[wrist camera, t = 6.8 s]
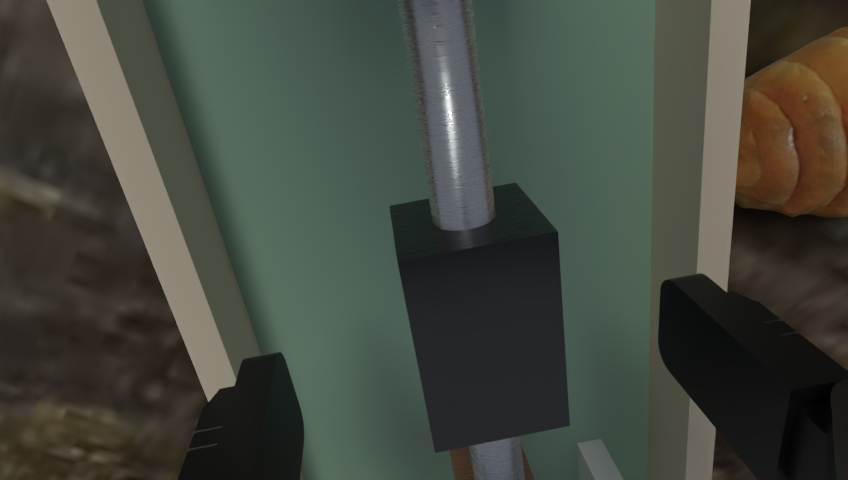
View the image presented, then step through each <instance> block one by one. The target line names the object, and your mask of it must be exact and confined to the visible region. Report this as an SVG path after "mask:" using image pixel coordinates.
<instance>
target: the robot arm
mask: <svg viewBox="0 0 848 480" xmlns="http://www.w3.org/2000/svg"><path fill="white" fill-rule="evenodd" d="M658 346H659V351H660V355H661V358H662V360H663V363H664V365H665V366H666V368H667V369H668V371H669V372H670V373H671V375H672V376H673V377H674V378H675V379H676V381H677V382H678V383H679V384H680V385H681V387H682V388H683V389H684V390H685V391H686V393H687V394H688V395H689V396H690V398H691V399H692V400H693V401H694V402H695V404H696V405H697V406H698V407H699V408H700V410H701V411H702V412H703V413H704V415H705V416H706V417H707V418H708V419H709V421H710V422H711V423H712V424H713V425H714V427H715V428H716V429H717V430H718V432H719V433H720V434H721V435H722V436H723V438H724V439H725V440H726V441H727V442H728V444H729V445H730V446H731V447H732V449H733V450H734V451H735V452H736V453H737V455H738V456H739V457H740V458H741V459H742V461H743V462H744V463H745V464H746V466H747V467H748V468H749V469H750V470H751V472H752V473H753V474H754V475H755V476H756V478H757V479H758V480H848V371H847V370H845V369H844V368H843V367H842V366H840V365H839V364H838V363H836V362H835V361H834V360H833V359H831V358H830V357H829V356H827V355H826V354H825V353H824V352H822V351H821V350H820V349H818V348H817V347H816V346H814V345H813V344H812V343H811V342H809V341H808V340H807V339H805V338H804V337H803V336H802V335H800V334H796V333H795V330H794V329H793V328H791V327H790V326H789V325H787V324H786V323H785V322H784V321H779V318H778V317H777V316H776V315H774V314H773V313H772V312H771V311H769V310H768V309H767V308H765V307H764V306H763V305H762V304H760V303H759V302H757V301H754V300H752V299H749V298H747V297H745V296H742V295H740V294H738V293H735V292H728V293H727V292H726V291H725V290H723V289H722V288H721V287H720V286H719V285H717V284H716V283H715V282H714V281H712V280H711V279H710V278H709V277H707V276H706V275H704V274H702V273H699V274H694V275H688V276H683V277H678V278H672V279H667V280H665V281H663V283H662V285H661V288H660V306H659V328H658ZM303 446H304V423H303V417H302V412H301V408H300V405H299V402H298V398H297V395H296V392H295V389H294V386H293V382H292V379H291V376H290V373H289V370H288V367H287V363H286V360H285V358H284V356H283V354H282V353H281V352H277V353H272V354H267V355H261V356H256V357H251V358H245V359H243V361H242V363H241V366H240V369H239V372H238V376H237V379H236V382H235V386H232V387H226V388H221V389H219V390H218V392H217V393H216V394H215V395H214V396H213V398H212V399H211V400H210V401H209V402H208V403H207V405H206V406H205V407H204V408H203V410H202V413H201V416H200V419H199V421H198V424H197V427H196V434H194V435H193V438H192V441H191V444H190V447H189V448H190V451H189V452H187V455H186V458H185V461H184V463H183V466H182V469H181V472H180V475H179V477H178V480H300V474H301V465H302V455H303Z"/></svg>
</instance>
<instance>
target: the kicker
mask: <svg viewBox="0 0 848 480" xmlns="http://www.w3.org/2000/svg"><path fill="white" fill-rule="evenodd" d="M397 4H398V10H399V17H400V23H401V29H402V35H403V41H404V48H405V54H406V60H407V66H408V72H409V78H410V85H411V91H412V97H413V103H414V109H415V115H416V122H417V128H418V134H419V140H420V146H421V153H422V159H423V165H424V171H425V177H426V183H427V190H428V196H429V199H423V200H418V201H413V202H407V203H402V204H396V205H391V206H389V208H390V215H391V222H392V228H393V235H394V242H395V249H396V256H397V262H398V267H399V272H400V278H401V283H402V288H403V293H404V298H405V303H406V308H407V313H408V318H409V323H410V328H411V333H412V338H413V344H414V349H415V354H416V359H417V364H418V369H419V374H420V379H421V384H422V389H423V394H424V399H425V404H426V410H427V415H428V420H429V425H430V430H431V435H432V440H433V445H434V450H435V453H438V452H443V451H448V450H449V454H450V459H451V464H452V469H453V474H454V479H455V480H534V477H533V474H532V472H531V469H530V466H529V463H528V461H527V458H526V455H525V452H524V450H523V447H522V444H521V440H520V436H522V435H527V434H532V433H537V432H542V431H547V430H552V429H557V428H562V427H567V426H570V420H569V403H568V387H567V370H566V354H565V337H564V321H563V304H562V288H561V271H560V255H559V238H558V231H557V230H556V228H555V227H554V226H553V225H552V224H551V223H550V221H549V220H548V219H547V218H546V217H545V216H544V215H543V213H542V212H541V211H540V210H539V209H538V208H537V206H536V205H535V204H534V203H533V202H532V201H531V199H530V198H529V197H528V196H527V195H526V194H525V193H524V191H523V190H522V189H521V188H520V187H519V186H518V184H517V183H516V182H515V183H510V184H504V185H499V186H494V187H493V186H492V176H491V167H490V158H489V149H488V140H487V131H486V122H485V113H484V104H483V95H482V86H481V77H480V67H479V58H478V49H477V40H476V31H475V22H474V13H473V4H472V0H397Z"/></svg>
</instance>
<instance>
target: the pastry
mask: <svg viewBox="0 0 848 480" xmlns="http://www.w3.org/2000/svg"><path fill="white" fill-rule="evenodd" d="M734 202H735V203H736V204H738V205H739V206H740V207H742V208H754V209H761V210H772V211H777V212H779V213H782V214H785V215H787V216H790V217H795V216H798V215H801V214H811V215H816V216H821V217H829V218H841V217H846V216H847V217H848V26H847V27H844V28H841V29H838V30H835V31H834V32H832V33H830V34H828V35H826V36H823V37H821V38H819V39H816V40H815V41H813V42H811V43H809V44H808V45H806V46H804V47H802V48H800V49H799V50H797V51H795V52H793V53H791V54H789V55H788V56H786V57H784V58H782V59H780V60H778V61H776V62H774V63H772V64H770V65H769V66H767V67H765V68H763V69H762V70H760V71H758V72H757V73H755V74H753V75H751V76H749V77H748V78H746V79H744V89H743V101H742V114H741V126H740V138H739V150H738V163H737V175H736V187H735V199H734Z"/></svg>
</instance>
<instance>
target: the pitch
mask: <svg viewBox="0 0 848 480" xmlns="http://www.w3.org/2000/svg"><path fill="white" fill-rule="evenodd" d="M47 2H48V5H49V7H50V10H51V12H52V15H53V17H54V20H55V22H56V25H57V27H58V30H59V32H60V35H61V37H62V40H63V42H64V45H65V47H66V50H67V52H68V55H69V57H70V60H71V62H72V64H73V67H74V69H75V72H76V74H77V77H78V79H79V82H80V84H81V87H82V89H83V92H84V94H85V97H86V99H87V102H88V104H89V107H90V109H91V112H92V114H93V117H94V119H95V122H96V124H97V127H98V129H99V132H100V134H101V136H102V139H103V141H104V144H105V146H106V149H107V151H108V154H109V156H110V159H111V161H112V164H113V166H114V169H115V171H116V174H117V176H118V179H119V181H120V184H121V186H122V189H123V191H124V194H125V196H126V199H127V201H128V203H129V206H130V208H131V211H132V213H133V216H134V218H135V221H136V223H137V226H138V228H139V231H140V233H141V236H142V238H143V241H144V243H145V246H146V248H147V251H148V253H149V256H150V258H151V261H152V263H153V266H154V268H155V270H156V273H157V275H158V278H159V280H160V283H161V285H162V288H163V290H164V293H165V295H166V298H167V300H168V303H169V305H170V308H171V310H172V313H173V315H174V318H175V320H176V323H177V325H178V328H179V330H180V333H181V335H182V337H183V340H184V342H185V345H186V347H187V350H188V352H189V355H190V357H191V360H192V362H193V365H194V367H195V370H196V372H197V375H198V377H199V380H200V382H201V385H202V387H203V390H204V392H205V395H206V397H207V400H208V402H209V401H210V400H211V399H212V398H213V396H214V395H215V394H216V393H217V392H218V390H219V389H221V388H226V387H232V386H235V382H236V379H237V376H238V372H239V369H240V366H241V363H242V361H243V359H245V358H251V357H256V356H261V355H267V354H272V353H277V352H281V353H282V354H283V356H284V358H285V360H286V363H287V367H288V370H289V373H290V376H291V379H292V382H293V386H294V389H295V392H296V395H297V398H298V402H299V405H300V408H301V412H302V417H303V423H304V446H303V455H302V465H301V474H300V480H455V479H454V474H453V469H452V464H451V459H450V454H449V450H448V451H443V452H438V453H435V450H434V445H433V440H432V435H431V430H430V425H429V420H428V415H427V410H426V404H425V399H424V394H423V389H422V384H421V379H420V374H419V369H418V364H417V359H416V354H415V349H414V344H413V338H412V333H411V328H410V323H409V318H408V313H407V308H406V303H405V298H404V293H403V288H402V283H401V278H400V272H399V267H398V262H397V256H396V249H395V242H394V235H393V228H392V222H391V215H390V208H389V206H391V205H396V204H402V203H407V202H413V201H418V200H423V199H429V196H428V190H427V183H426V177H425V171H424V165H423V159H422V153H421V146H420V140H419V134H418V128H417V122H416V115H415V109H414V103H413V97H412V91H411V85H410V78H409V72H408V66H407V60H406V54H405V48H404V41H403V35H402V29H401V23H400V17H399V10H398V4H397V0H47ZM472 4H473V13H474V22H475V31H476V40H477V49H478V58H479V67H480V77H481V86H482V95H483V104H484V113H485V122H486V131H487V140H488V149H489V158H490V167H491V176H492V186H493V187H494V186H499V185H504V184H510V183H515V182H516V183H517V184H518V186H519V187H520V188H521V189H522V190H523V191H524V193H525V194H526V195H527V196H528V197H529V198H530V199H531V201H532V202H533V203H534V204H535V205H536V206H537V208H538V209H539V210H540V211H541V212H542V213H543V215H544V216H545V217H546V218H547V219H548V220H549V221H550V223H551V224H552V225H553V226H554V227H555V228H556V230H557V231H558V238H559V255H560V271H561V288H562V304H563V321H564V337H565V354H566V370H567V387H568V403H569V420H570V426H567V427H562V428H557V429H552V430H547V431H542V432H537V433H532V434H527V435H522V436H520V440H521V444H522V447H523V450H524V452H525V455H526V458H527V461H528V463H529V466H530V469H531V472H532V474H533V477H534V480H712V468H713V456H714V444H715V432H716V428H715V427H714V425H713V424H712V423H711V422H710V421H709V419H708V418H707V417H706V416H705V415H704V413H703V412H702V411H701V410H700V408H699V407H698V406H697V405H696V404H695V402H694V401H693V400H692V399H691V398H690V396H689V395H688V394H687V393H686V391H685V390H684V389H683V388H682V387H681V385H680V384H679V383H678V382H677V381H676V379H675V378H674V377H673V376H672V375H671V373H670V372H669V371H668V369H667V368H666V366H665V365H664V363H663V360H662V358H661V355H660V351H659V346H658V328H659V306H660V288H661V285H662V283H663V281H665V280H667V279H672V278H678V277H683V276H688V275H694V274H699V273H702V274H704V275H706V276H707V277H709V278H710V279H711V280H712V281H714V282H715V283H716V284H717V285H719V286H720V287H721V288H722V289H723V290H725V291H726V292H727V285H728V273H729V260H730V248H731V236H732V224H733V212H734V199H735V187H736V175H737V163H738V150H739V138H740V126H741V114H742V101H743V89H744V77H745V65H746V52H747V40H748V28H749V16H750V4H751V0H472Z"/></svg>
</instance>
